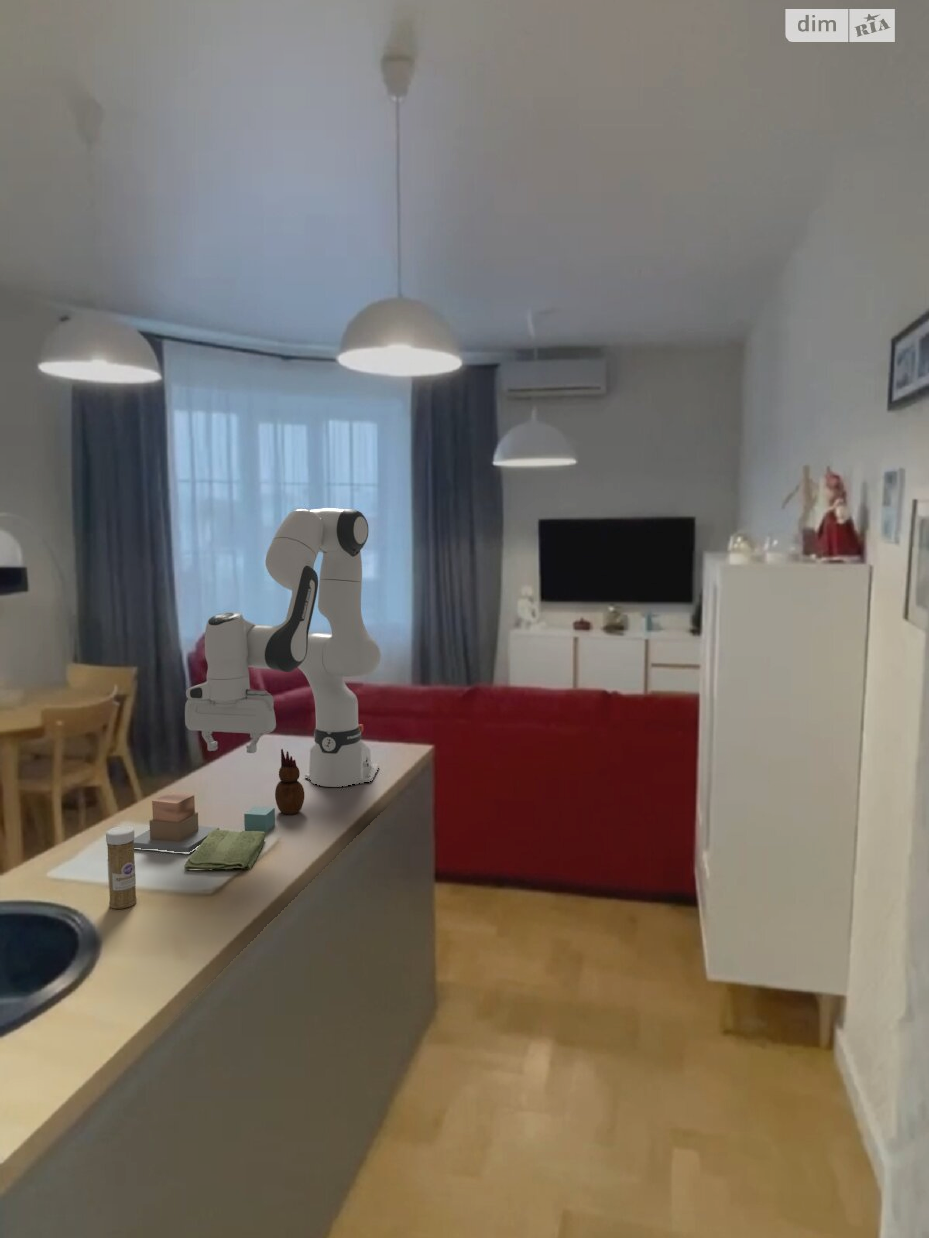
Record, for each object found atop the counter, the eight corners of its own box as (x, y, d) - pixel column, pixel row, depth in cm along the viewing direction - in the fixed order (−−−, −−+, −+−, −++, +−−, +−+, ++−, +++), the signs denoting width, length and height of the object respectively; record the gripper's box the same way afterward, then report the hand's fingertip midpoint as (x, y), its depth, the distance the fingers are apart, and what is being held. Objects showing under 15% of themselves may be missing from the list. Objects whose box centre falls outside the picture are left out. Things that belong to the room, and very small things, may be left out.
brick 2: (254, 823, 186) (253, 806, 186) (275, 824, 186) (274, 807, 185) (244, 831, 181) (244, 813, 181) (266, 832, 181) (265, 814, 180)
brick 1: (171, 810, 178) (170, 792, 178) (194, 813, 177) (194, 794, 176) (152, 819, 173) (152, 800, 172) (177, 822, 171) (176, 803, 170)
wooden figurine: (271, 812, 194) (269, 749, 192) (291, 806, 198) (290, 744, 197) (288, 818, 189) (286, 754, 188) (308, 812, 193) (307, 749, 192)
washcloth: (181, 875, 159) (180, 858, 158) (209, 841, 176) (209, 826, 176) (249, 874, 159) (249, 858, 158) (270, 841, 176) (270, 826, 176)
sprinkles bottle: (123, 911, 142) (120, 835, 141) (103, 907, 144) (99, 832, 142) (142, 900, 146) (139, 827, 145) (122, 896, 148) (119, 823, 147)
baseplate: (162, 829, 182) (161, 804, 182) (219, 834, 179) (218, 809, 179) (128, 848, 171) (127, 823, 170) (188, 854, 168) (187, 828, 167)
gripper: (279, 687, 179) (282, 749, 180) (195, 684, 184) (199, 744, 185) (265, 693, 172) (268, 757, 174) (178, 690, 178) (182, 752, 179)
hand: (232, 751), depth 180 cm, fingers open, 8 cm apart
